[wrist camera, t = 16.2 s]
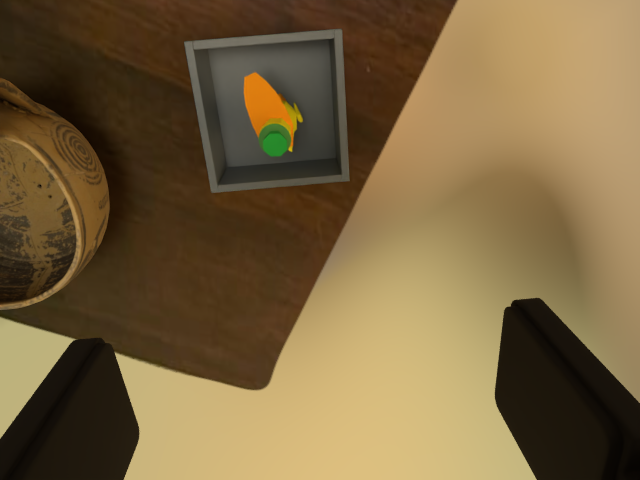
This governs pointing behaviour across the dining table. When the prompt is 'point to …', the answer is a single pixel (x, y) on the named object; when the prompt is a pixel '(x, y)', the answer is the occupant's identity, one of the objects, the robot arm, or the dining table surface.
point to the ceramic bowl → (45, 200)
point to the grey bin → (284, 77)
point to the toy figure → (270, 115)
